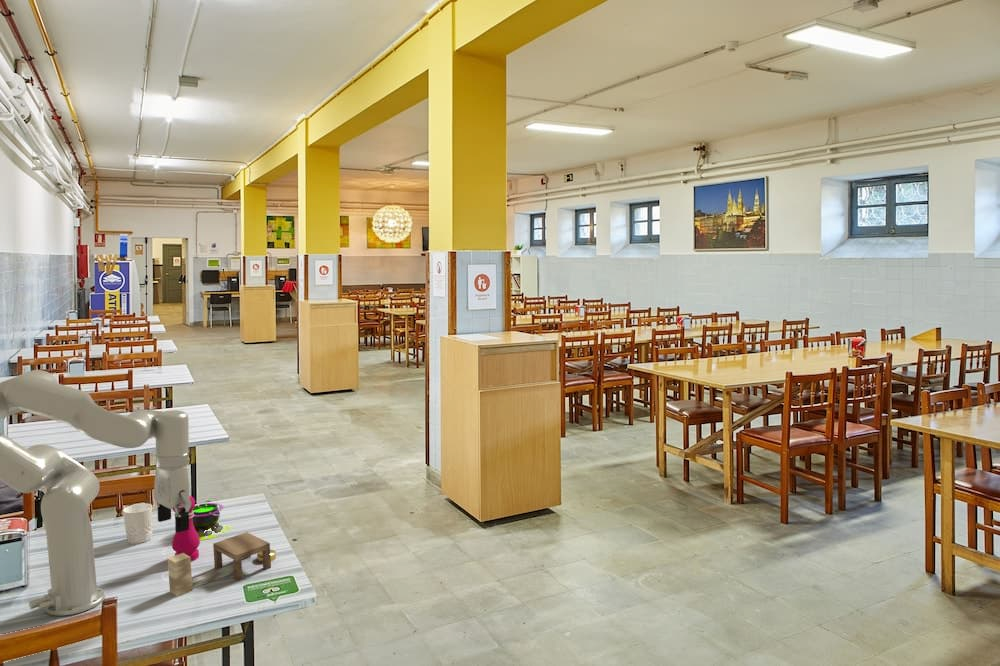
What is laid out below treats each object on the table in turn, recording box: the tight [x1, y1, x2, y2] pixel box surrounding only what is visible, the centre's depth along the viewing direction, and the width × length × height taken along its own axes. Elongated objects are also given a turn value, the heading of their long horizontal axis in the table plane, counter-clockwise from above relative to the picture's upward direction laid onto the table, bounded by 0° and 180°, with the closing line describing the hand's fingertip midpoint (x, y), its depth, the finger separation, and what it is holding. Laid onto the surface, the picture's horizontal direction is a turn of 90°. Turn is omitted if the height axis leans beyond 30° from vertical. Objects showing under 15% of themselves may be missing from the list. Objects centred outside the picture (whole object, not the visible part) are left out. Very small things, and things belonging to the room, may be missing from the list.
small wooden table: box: [212, 531, 272, 581], centre depth 192 cm, size 10×12×7 cm
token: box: [256, 549, 277, 564], centre depth 198 cm, size 5×5×2 cm
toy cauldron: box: [193, 495, 231, 541], centre depth 217 cm, size 15×15×11 cm
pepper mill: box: [171, 495, 201, 562], centre depth 197 cm, size 7×7×20 cm
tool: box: [167, 553, 234, 597], centre depth 184 cm, size 17×4×9 cm, turn 140°
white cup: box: [122, 503, 154, 545], centre depth 211 cm, size 8×8×10 cm
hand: (173, 525), depth 177 cm, fingers open, 9 cm apart
